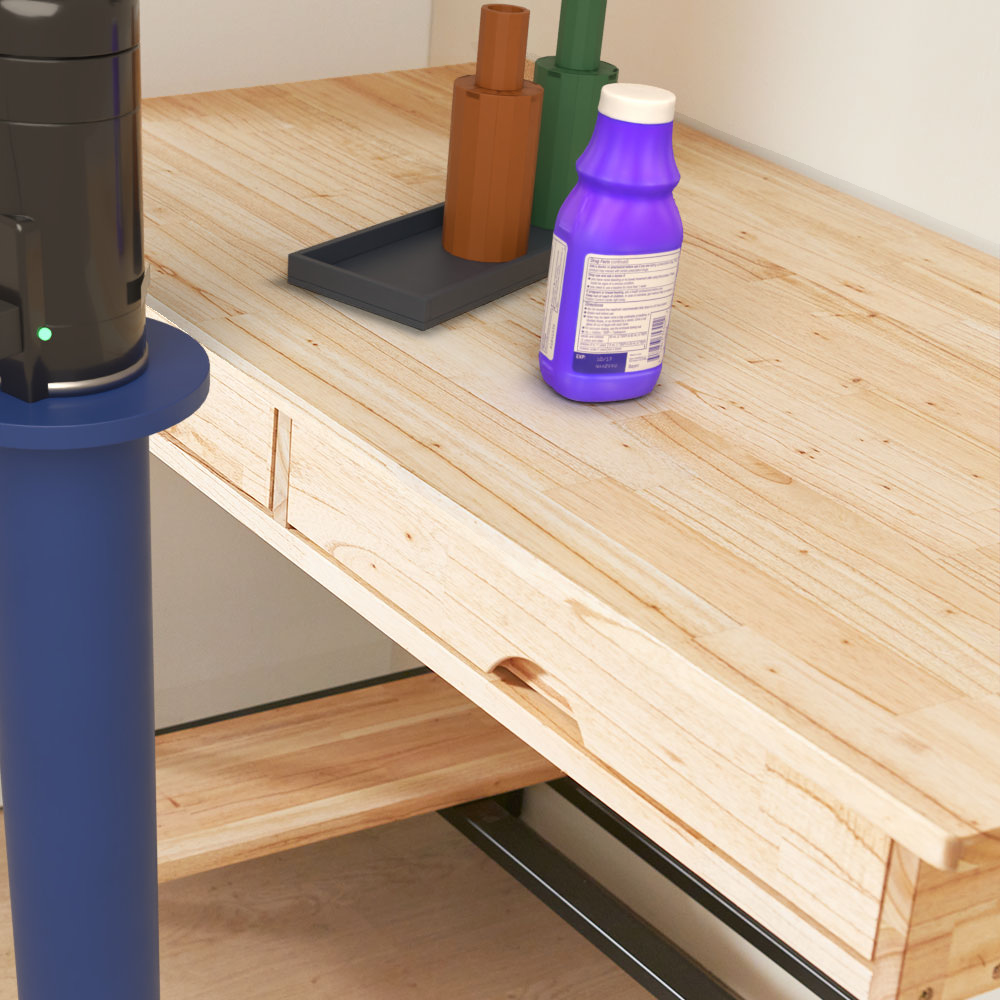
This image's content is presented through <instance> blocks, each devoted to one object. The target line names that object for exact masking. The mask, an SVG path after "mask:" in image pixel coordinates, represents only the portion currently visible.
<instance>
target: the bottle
mask: <svg viewBox="0 0 1000 1000" xmlns="http://www.w3.org/2000/svg"><path fill="white" fill-rule="evenodd" d="M676 101H677V96H676V94H675V93H673V92H672V91H670V90H668V89H666V88H662V87H659V86H654V85H649V84H642V83H632V82H631V83H630V82H617V83H613V84H607V85H605V86H603V87H602V89H601V96H600V101H599V105H598V117H597V121H596V125H595V129H594V131H593V135H592V137H591V140H590V142H589V144H588V146H587V147H586V149H585V150H584V152H583V154H582V155H581V156H580V157H579V158H578V160H577V161H576V171H577V173H578V182H577V184H576V185H575V187H574V188H573V189H572V191H571V192H570V193H569V195H568V196H567V198H566V199H565V201H564V203H563V204H562V206H561V208H560V210H559V212H558V215H557V219H556V223H555V228H554V232H553V241H552V249H551V258H550V265H549V273H548V276H547V281H546V290H545V300H544V307H543V315H542V323H541V332H540V339H539V351H538V366H539V370H540V373H541V377H542V380H543V381H544V382H545V383H546V384H547V385H548V386H549V387H550V388H551V389H553V390H554V391H555V392H556V393H558V394H559V395H561V396H563V397H564V398H565V399H569V400H571V401H576V402H581V403H604V402H617V401H625V400H632V399H637V398H640V397H643V396H645V395H647V394H650V393H651V392H652V391H653V390H654V388H655V387H656V385H657V382H658V380H659V378H660V375H661V372H662V368H663V361H664V356H665V352H666V343H667V337H668V330H669V325H670V318H671V312H672V306H673V300H674V296H675V288H676V282H677V276H678V270H679V265H680V258H681V251H682V248H683V247H682V246H683V243H684V226H683V221H682V216H681V214H680V210H679V208H678V207H679V206H678V205H677V203H676V200H675V198H674V194H673V192H674V189H675V188H676V187H677V186H678V185H679V183H680V180H681V172H680V171H679V168H678V166H677V163H676V159H675V155H674V148H673V131H674V119H675V110H676V103H677V102H676Z"/></svg>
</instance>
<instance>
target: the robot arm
mask: <svg viewBox="0 0 1000 1000" xmlns="http://www.w3.org/2000/svg"><path fill="white" fill-rule="evenodd" d="M140 8H141V5H140V0H0V391H2V392H4V393H6V394H9V395H11V396H13V397H15V398H18V399H20V400H22V401H24V402H27V403H35V402H38V401H40V400H43V399H47V398H54V397H72V396H82V395H89V394H95V393H100V392H104V391H108V390H112V389H115V388H118V387H121V386H123V385H125V384H128V383H129V382H131V381H133V380H135V379H136V378H138V377H139V376H140V375H141V374H142V373H143V372H144V371H145V370H146V368H147V366H148V361H149V359H148V344H147V341H146V317H147V315H146V312H147V311H146V297H147V294H148V291H149V288H150V286H151V261H149V262H148V266H147V268H146V267H145V266H146V263H145V262H146V261H145V218H144V217H145V216H144V215H145V214H144V211H145V210H144V170H143V169H144V168H143V163H144V161H143V119H142V117H143V115H142V112H143V111H142V100H143V99H142V58H141V56H142V55H141V42H140V41H141V10H140ZM145 268H146V269H145Z"/></svg>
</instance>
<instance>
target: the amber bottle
mask: <svg viewBox="0 0 1000 1000" xmlns="http://www.w3.org/2000/svg"><path fill="white" fill-rule="evenodd" d="M530 18H531V10H530V9H529V8H526V7H524V6H519V5H515V4H508V3H507V4H506V3H486V4H482V5H481V7H480V17H479V26H478V27H479V28H478V40H477V41H478V42H477V54H476V67H475V74H466V75H462V76H458V77H456V79H455V80H453V88H452V99H451V100H452V101H451V103H452V104H451V112H450V113H451V114H450V127H449V140H448V155H447V166H446V180H445V181H446V182H445V194H444V201H445V205H444V219H443V232H442V246H443V248H444V250H445V251H447V252H449V253H450V254H452V255H454V256H457V257H460V258H463V259H466V260H472V261H478V262H492V263H502V262H509V261H511V260H513V259H516V258H518V257H521V256H523V255H526V253H527V251H528V241H529V231H530V222H531V212H532V202H533V192H534V183H535V173H536V163H537V153H538V144H539V134H540V124H541V114H542V105H543V95H544V89H543V88H542V86H541V85H539V84H537V83H535V82H533V80H529V79H525V70H526V69H525V68H526V58H527V49H528V38H529V27H530Z"/></svg>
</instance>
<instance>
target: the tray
mask: <svg viewBox="0 0 1000 1000" xmlns="http://www.w3.org/2000/svg"><path fill="white" fill-rule="evenodd" d="M444 205H445V200H444V201H442V202H438V203H435V204H432V205H429V206H427V207H424V208H420V209H417V210H415V211H412V212H409V213H406V214H403V215H399V216H397V217H394V218H391V219H388V220H384V221H382V222H379V223H377V224H373V225H370V226H367V227H364V228H362V229H361V228H360V229H359V230H356V231H353V232H349V233H347V234H343V235H341V236H337V237H335V238H332V239H329V240H326V241H322V242H321V243H317V244H314V245H311V246H308V247H305V248H302V249H299V250H296V251H294V252H290V253H288V254H287V280H286V281H287V284H289V285H293V286H295V287H299V288H300V289H301V288H302V289H305V290H307V291H310V292H313V293H315V294H318V295H321V296H324V297H327V298H329V299H333V300H335V301H339V302H341V303H344V304H346V305H349V306H353V307H355V308H358V309H361V310H364V311H366V312H369V313H372V314H375V315H378V316H381V317H383V318H387V319H389V320H392V321H395V322H398V323H400V324H403V325H406V326H408V327H411V328H415V329H418V330H419V331H426V330H428V329H430V328H432V327H435V326H436V325H439V324H441V323H444V322H447V321H449V320H451V319H454V318H455V317H458V316H460V315H462V314H464V313H467V312H469V311H472V310H474V309H476V308H478V307H481V306H483V305H485V304H487V303H490V302H492V301H494V300H497V299H499V298H501V297H503V296H506V295H508V294H510V293H513V292H515V291H518V290H520V289H521V288H525V287H526V286H529V285H531V284H533V283H536V282H538V281H540V280H543V279H545V278H548V273H549V265H550V258H551V249H552V241H553V232H554V230H549V229H544V228H540V227H537V226H534V225H531V224H530V231H529V241H528V251H527V253H526V255H523V256H521V257H518V258H516V259H513V260H511V261H509V262H502V263H492V262H478V261H472V260H466V259H463V258H460V257H457V256H454V255H452V254H450V253H449V252H447V251H445V250H444V248H443V246H442V232H443V219H444Z"/></svg>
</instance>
